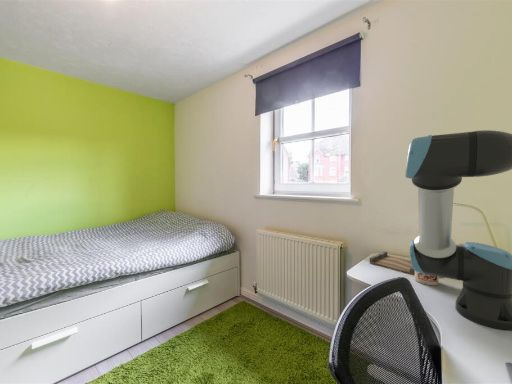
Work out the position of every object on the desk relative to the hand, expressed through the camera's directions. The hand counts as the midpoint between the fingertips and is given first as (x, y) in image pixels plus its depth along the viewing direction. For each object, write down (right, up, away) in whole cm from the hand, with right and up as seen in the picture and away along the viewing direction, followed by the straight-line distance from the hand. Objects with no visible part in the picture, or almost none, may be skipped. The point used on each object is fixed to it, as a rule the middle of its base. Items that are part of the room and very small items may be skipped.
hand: (436, 230), depth 104 cm
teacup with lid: (-3, -23, 0) cm, 23 cm away
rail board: (-5, -22, +21) cm, 31 cm away
